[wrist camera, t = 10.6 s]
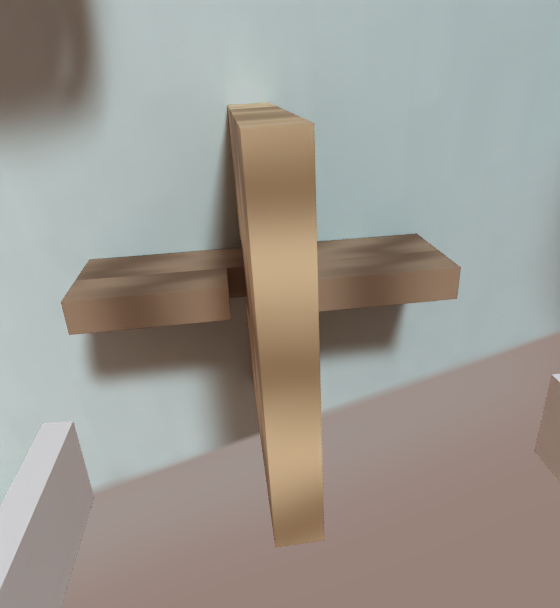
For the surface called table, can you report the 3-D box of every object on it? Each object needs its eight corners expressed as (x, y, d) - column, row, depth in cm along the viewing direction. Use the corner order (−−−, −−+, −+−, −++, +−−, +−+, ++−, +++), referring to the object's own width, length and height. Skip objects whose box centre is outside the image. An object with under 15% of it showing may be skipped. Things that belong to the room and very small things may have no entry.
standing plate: (416, 233, 28) (460, 267, 23) (414, 260, 29) (456, 298, 24) (89, 259, 26) (60, 302, 21) (95, 287, 27) (69, 334, 22)
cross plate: (284, 378, 31) (324, 540, 20) (253, 381, 31) (275, 547, 20) (268, 102, 24) (314, 123, 13) (227, 105, 24) (240, 128, 13)
